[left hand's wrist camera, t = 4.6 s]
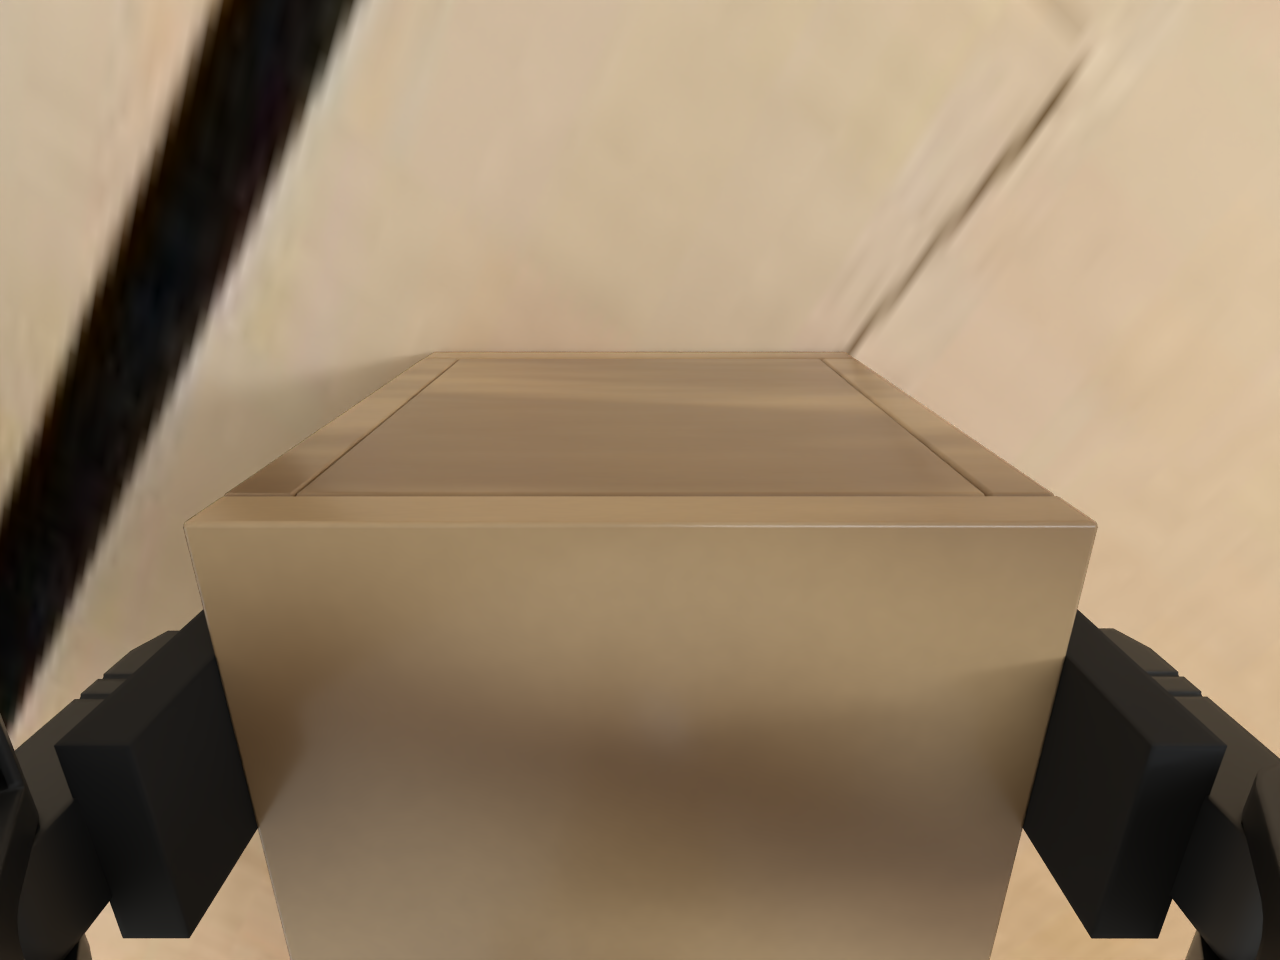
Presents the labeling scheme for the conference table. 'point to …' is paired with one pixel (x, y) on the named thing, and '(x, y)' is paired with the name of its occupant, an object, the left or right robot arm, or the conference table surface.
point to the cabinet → (640, 662)
